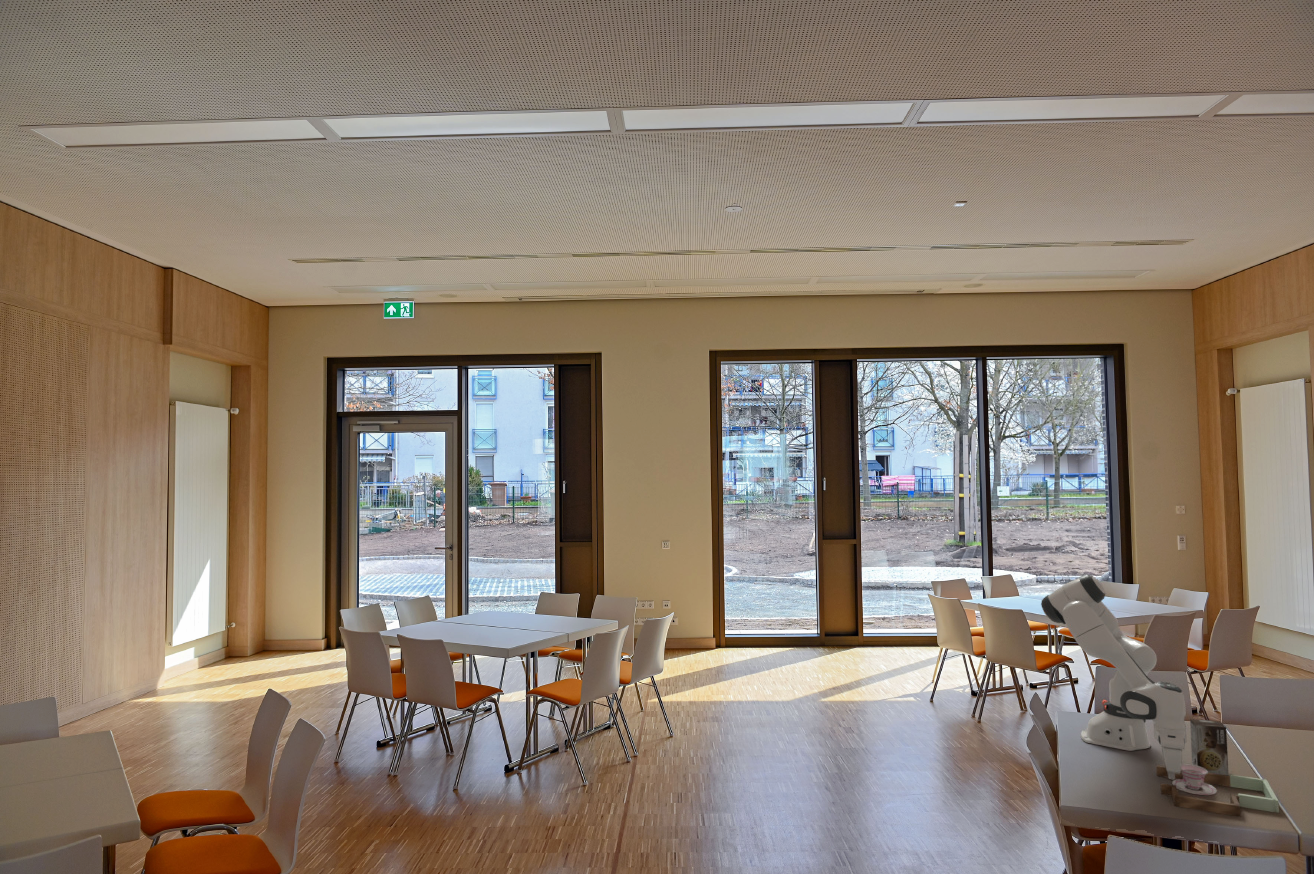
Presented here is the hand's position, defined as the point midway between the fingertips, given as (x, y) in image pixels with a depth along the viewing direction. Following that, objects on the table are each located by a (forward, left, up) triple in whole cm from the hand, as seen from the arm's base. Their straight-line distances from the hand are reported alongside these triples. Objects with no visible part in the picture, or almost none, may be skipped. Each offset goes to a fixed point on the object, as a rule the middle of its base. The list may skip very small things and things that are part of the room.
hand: (1171, 777), depth 256 cm
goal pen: (+21, 0, -3) cm, 21 cm away
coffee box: (+13, +20, -3) cm, 24 cm away
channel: (+7, -4, -3) cm, 8 cm away
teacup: (+6, +2, -3) cm, 7 cm away
